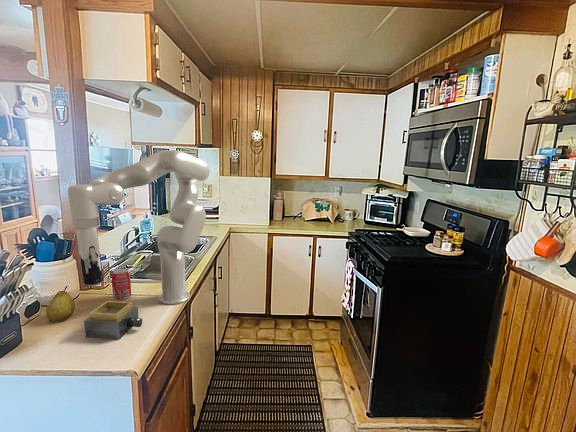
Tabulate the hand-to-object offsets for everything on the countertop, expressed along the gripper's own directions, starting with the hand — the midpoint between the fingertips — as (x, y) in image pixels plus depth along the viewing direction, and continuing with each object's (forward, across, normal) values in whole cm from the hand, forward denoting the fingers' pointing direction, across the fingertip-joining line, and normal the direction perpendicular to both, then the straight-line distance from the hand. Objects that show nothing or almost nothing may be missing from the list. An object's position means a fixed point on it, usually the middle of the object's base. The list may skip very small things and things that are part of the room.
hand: (93, 274), depth 108 cm
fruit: (+21, -18, -9) cm, 29 cm away
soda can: (+22, -24, +12) cm, 34 cm away
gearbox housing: (+21, +3, +5) cm, 22 cm away
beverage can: (+3, 0, 0) cm, 3 cm away
